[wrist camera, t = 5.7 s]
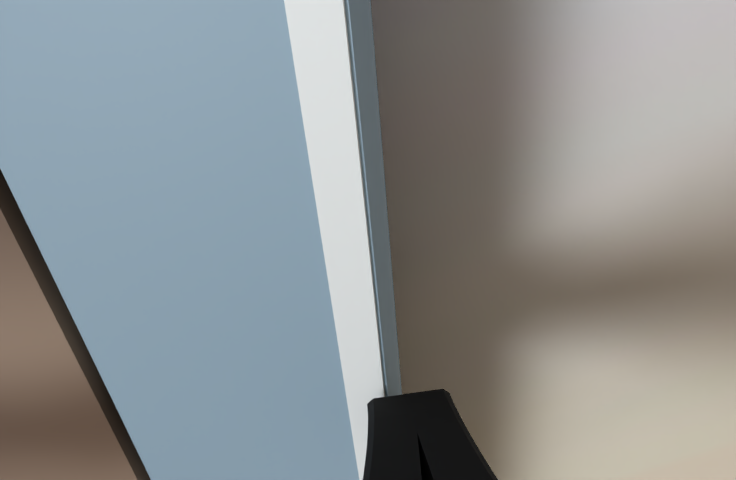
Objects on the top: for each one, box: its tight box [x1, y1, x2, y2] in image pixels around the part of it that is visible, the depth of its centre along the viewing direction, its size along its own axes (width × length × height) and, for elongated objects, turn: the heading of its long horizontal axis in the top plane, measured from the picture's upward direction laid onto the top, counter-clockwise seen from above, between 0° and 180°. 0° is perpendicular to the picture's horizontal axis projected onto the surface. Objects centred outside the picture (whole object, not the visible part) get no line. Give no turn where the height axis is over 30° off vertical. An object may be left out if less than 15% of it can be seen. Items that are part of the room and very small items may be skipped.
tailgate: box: [0, 0, 402, 480], centre depth 12 cm, size 20×1×6 cm
